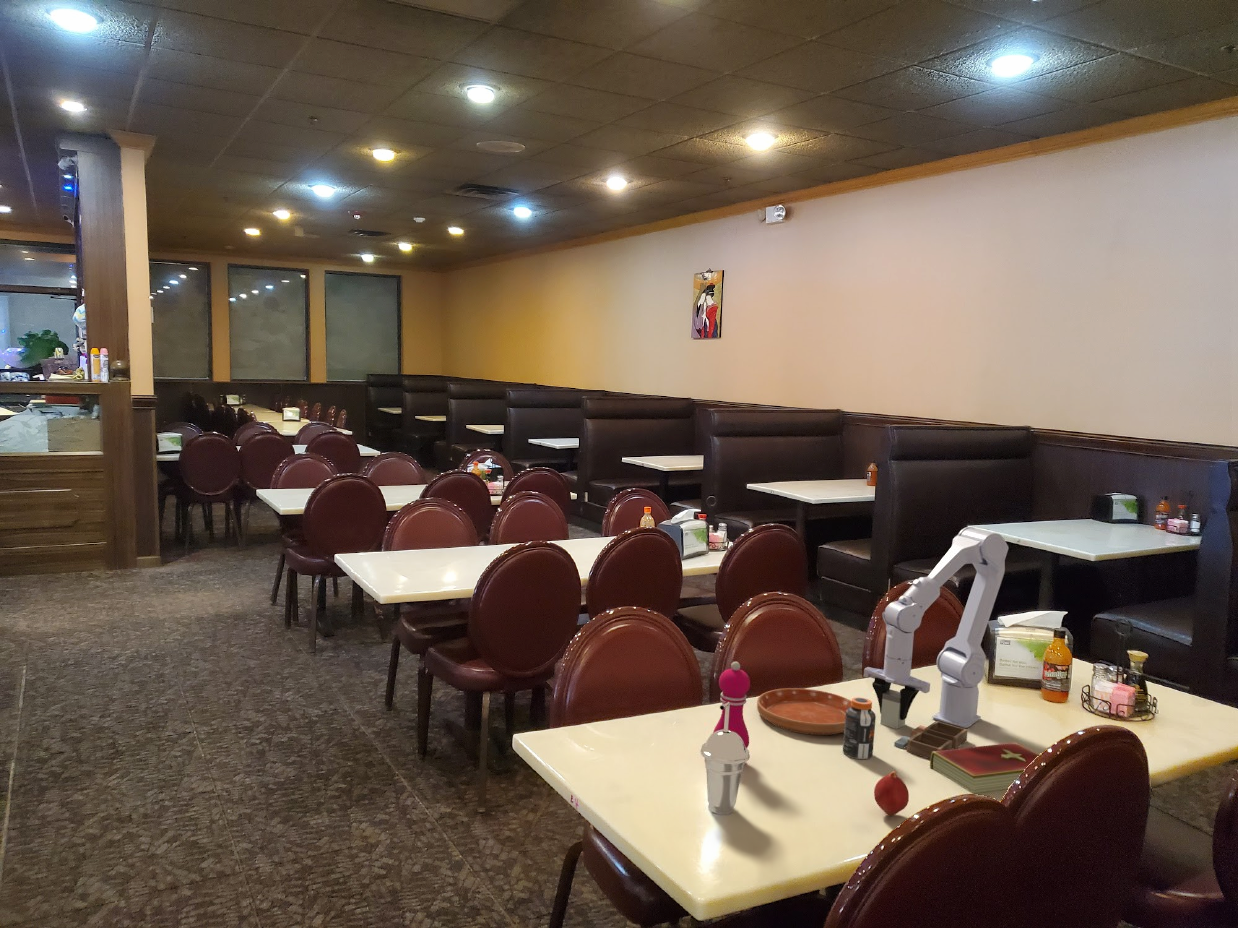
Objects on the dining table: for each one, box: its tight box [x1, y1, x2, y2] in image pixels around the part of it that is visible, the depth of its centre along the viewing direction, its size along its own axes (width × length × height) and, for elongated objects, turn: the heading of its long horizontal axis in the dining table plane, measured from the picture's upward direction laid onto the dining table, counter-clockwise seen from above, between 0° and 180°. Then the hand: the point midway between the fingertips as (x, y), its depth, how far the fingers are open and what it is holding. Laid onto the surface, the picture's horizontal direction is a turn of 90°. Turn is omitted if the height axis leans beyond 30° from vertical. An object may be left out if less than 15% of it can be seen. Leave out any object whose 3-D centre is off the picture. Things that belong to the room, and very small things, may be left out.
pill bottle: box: [842, 696, 877, 760], centre depth 182 cm, size 6×6×11 cm
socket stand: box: [893, 720, 968, 760], centre depth 190 cm, size 16×10×2 cm, turn 140°
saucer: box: [756, 687, 852, 736], centre depth 201 cm, size 23×23×4 cm
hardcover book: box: [929, 742, 1040, 794], centre depth 176 cm, size 12×21×4 cm, turn 110°
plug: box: [879, 688, 906, 730], centre depth 201 cm, size 4×4×7 cm
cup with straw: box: [699, 701, 751, 815], centre depth 155 cm, size 8×9×20 cm
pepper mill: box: [712, 661, 751, 765], centre depth 175 cm, size 7×7×20 cm
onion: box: [873, 771, 910, 817], centre depth 156 cm, size 6×6×8 cm
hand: (893, 715), depth 201 cm, fingers closed on plug, 4 cm apart
